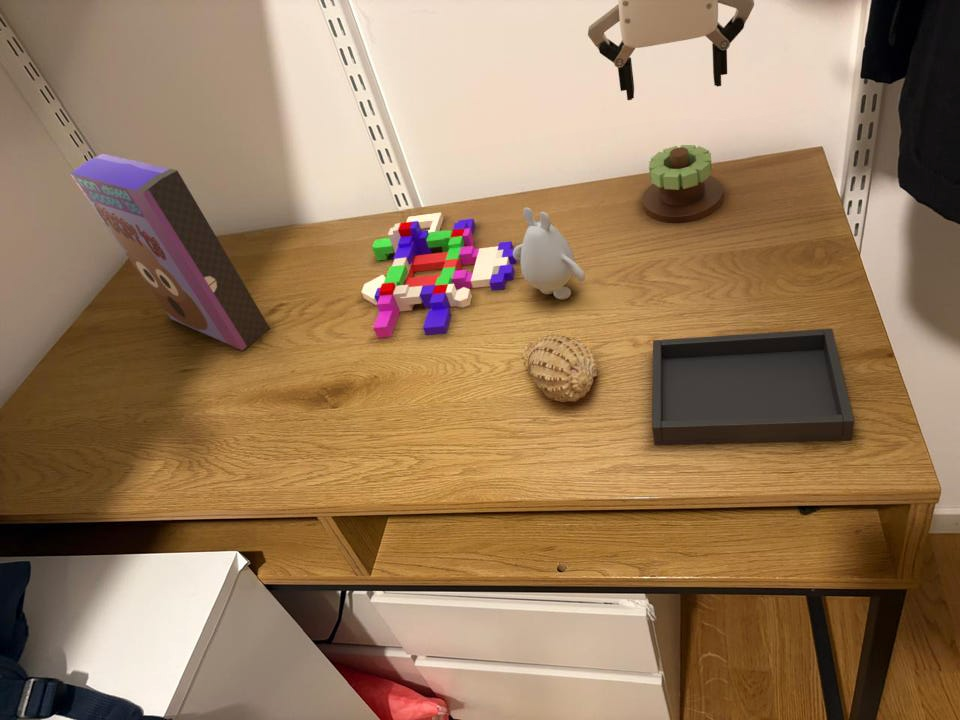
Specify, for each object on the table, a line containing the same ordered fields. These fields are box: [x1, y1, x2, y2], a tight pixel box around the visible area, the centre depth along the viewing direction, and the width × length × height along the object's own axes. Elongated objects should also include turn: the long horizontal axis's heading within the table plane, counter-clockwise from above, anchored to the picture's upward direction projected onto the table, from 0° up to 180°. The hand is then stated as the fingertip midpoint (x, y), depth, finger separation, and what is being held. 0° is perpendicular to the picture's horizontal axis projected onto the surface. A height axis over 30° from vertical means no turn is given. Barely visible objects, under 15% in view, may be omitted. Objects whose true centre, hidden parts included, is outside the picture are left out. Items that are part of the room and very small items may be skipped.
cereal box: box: [69, 153, 271, 352], centre depth 94 cm, size 17×5×24 cm, turn 53°
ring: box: [648, 144, 713, 190], centre depth 92 cm, size 7×8×2 cm
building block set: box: [360, 212, 518, 339], centre depth 96 cm, size 25×20×4 cm
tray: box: [651, 328, 855, 446], centre depth 69 cm, size 17×12×2 cm
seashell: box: [521, 334, 598, 403], centre depth 77 cm, size 8×6×10 cm
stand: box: [642, 146, 724, 224], centre depth 93 cm, size 10×10×7 cm
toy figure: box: [513, 206, 586, 300], centre depth 84 cm, size 11×6×12 cm, turn 47°
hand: (673, 88), depth 85 cm, fingers open, 9 cm apart
